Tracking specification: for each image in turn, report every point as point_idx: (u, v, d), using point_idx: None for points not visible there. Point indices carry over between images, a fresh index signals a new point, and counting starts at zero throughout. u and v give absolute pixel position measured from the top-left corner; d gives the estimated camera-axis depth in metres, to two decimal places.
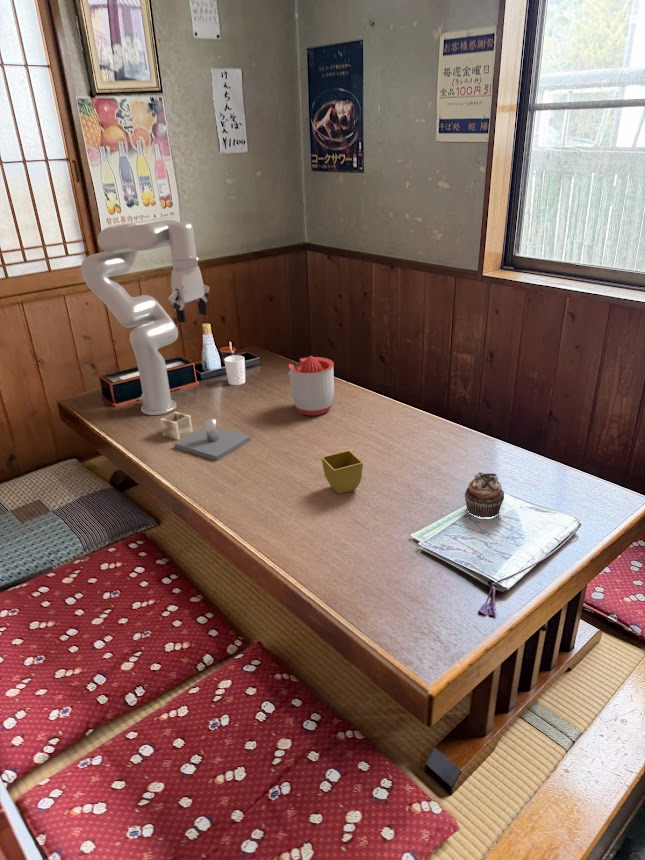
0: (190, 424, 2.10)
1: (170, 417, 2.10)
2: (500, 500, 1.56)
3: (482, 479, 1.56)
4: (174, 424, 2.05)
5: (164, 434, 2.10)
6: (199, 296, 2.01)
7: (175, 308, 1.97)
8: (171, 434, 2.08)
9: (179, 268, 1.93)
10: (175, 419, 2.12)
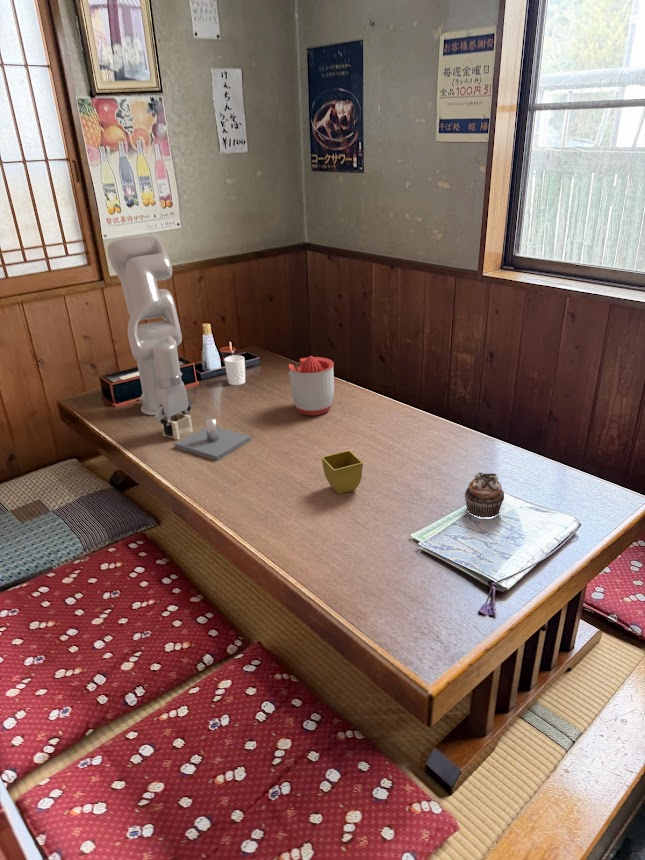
0: (189, 424, 2.10)
1: None
2: (500, 500, 1.56)
3: (482, 479, 1.56)
4: (174, 424, 2.05)
5: (164, 434, 2.10)
6: (183, 409, 2.08)
7: (162, 423, 2.05)
8: None
9: (163, 386, 2.00)
10: (175, 419, 2.12)
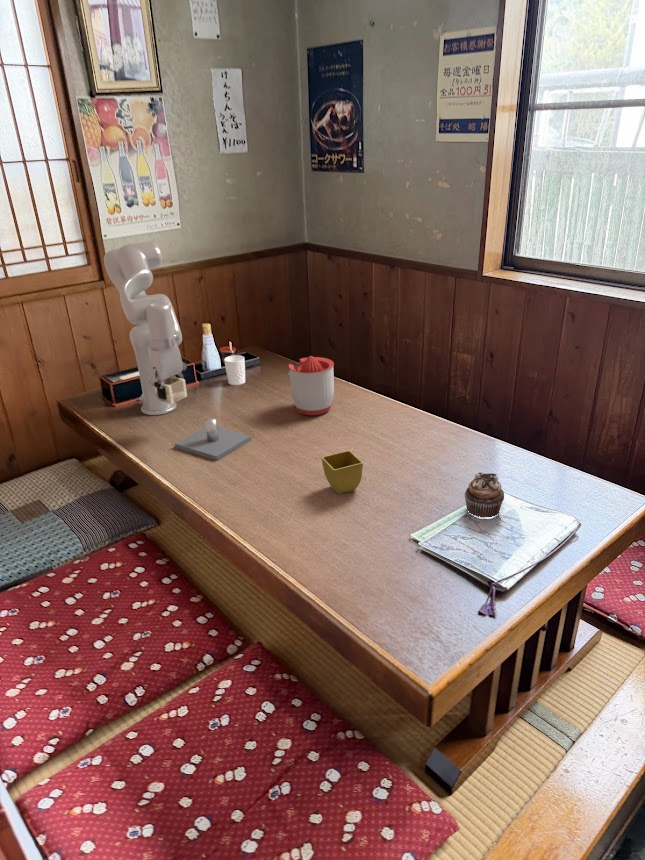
0: (184, 388, 2.05)
1: None
2: (500, 500, 1.56)
3: (482, 479, 1.56)
4: (168, 387, 2.00)
5: (157, 398, 2.05)
6: (177, 372, 2.03)
7: (156, 386, 2.00)
8: None
9: (157, 348, 1.95)
10: (169, 383, 2.08)
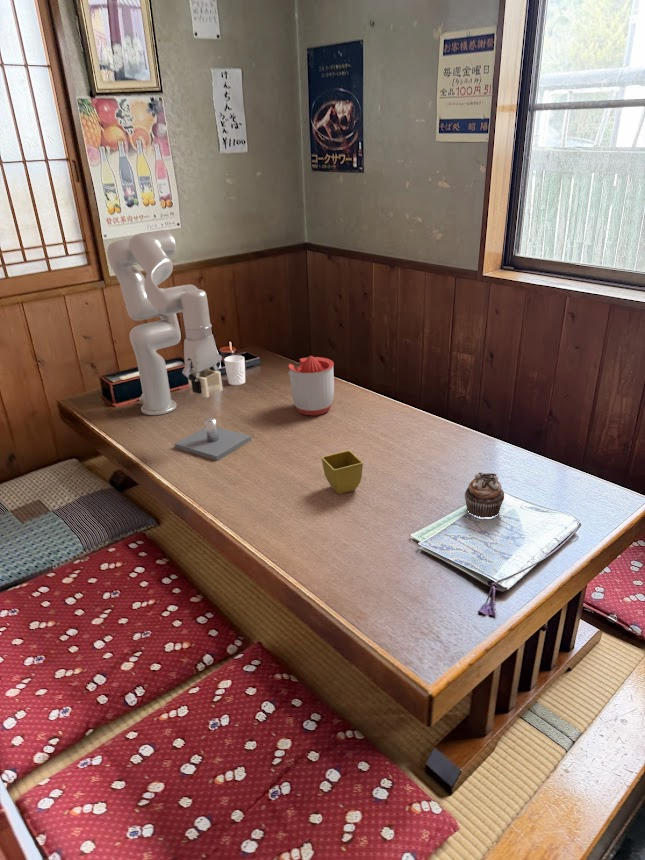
0: (219, 381, 1.94)
1: None
2: (500, 500, 1.56)
3: (482, 479, 1.56)
4: (203, 380, 1.89)
5: (192, 392, 1.94)
6: (212, 364, 1.92)
7: (190, 379, 1.89)
8: None
9: (192, 338, 1.84)
10: (203, 376, 1.96)
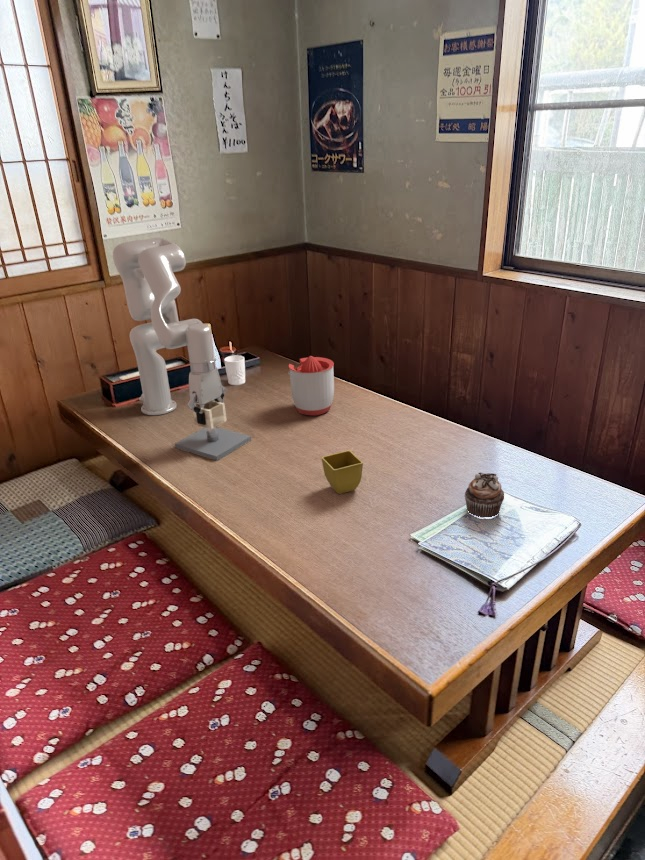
0: (223, 412, 1.98)
1: None
2: (500, 500, 1.56)
3: (482, 479, 1.56)
4: (208, 412, 1.93)
5: (196, 423, 1.98)
6: (217, 396, 1.97)
7: (195, 411, 1.93)
8: None
9: (197, 371, 1.89)
10: (207, 407, 2.01)
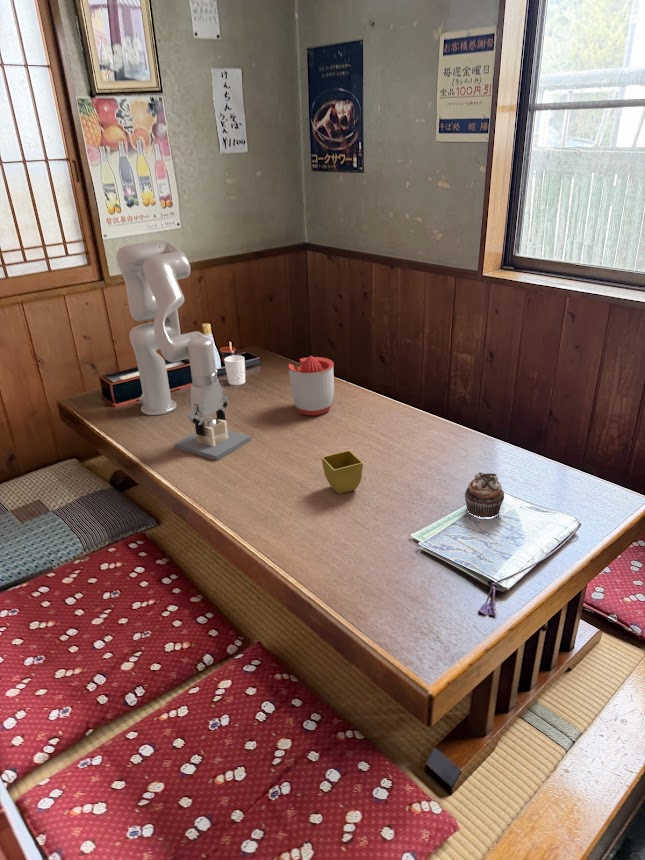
0: (225, 430, 2.01)
1: None
2: (500, 500, 1.56)
3: (482, 479, 1.56)
4: (210, 430, 1.96)
5: (198, 440, 2.01)
6: (218, 408, 1.98)
7: (194, 423, 1.94)
8: (206, 440, 1.99)
9: (199, 384, 1.91)
10: None
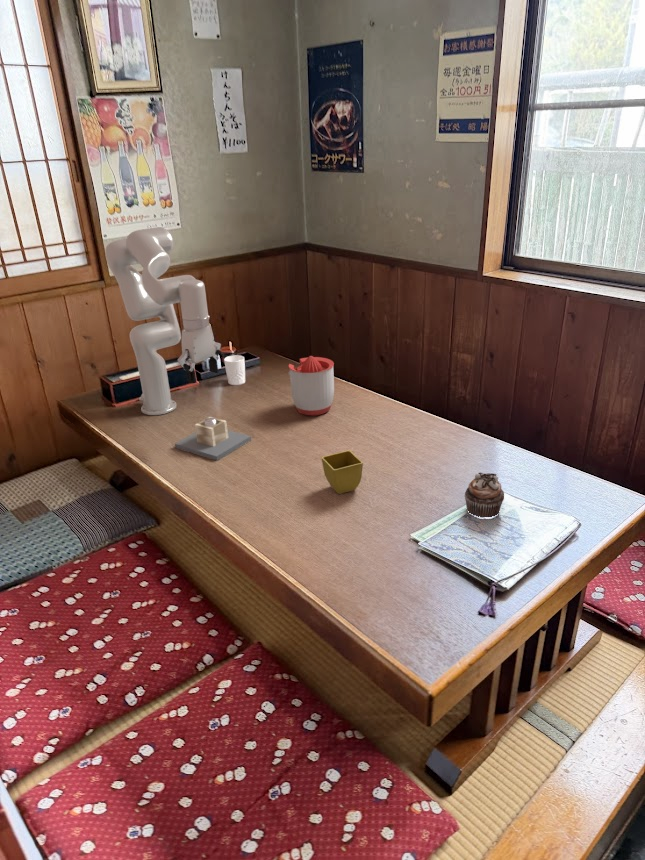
0: (225, 430, 2.01)
1: None
2: (500, 500, 1.56)
3: (482, 479, 1.56)
4: (210, 430, 1.96)
5: (198, 440, 2.01)
6: (210, 355, 1.92)
7: (185, 369, 1.88)
8: (206, 440, 1.99)
9: (190, 328, 1.84)
10: None
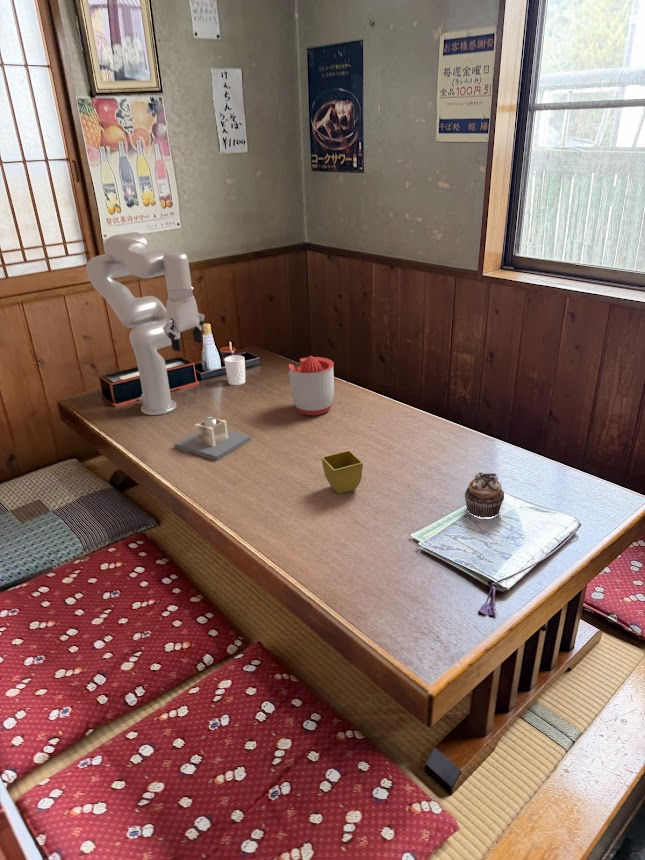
0: (225, 430, 2.01)
1: None
2: (500, 500, 1.56)
3: (482, 479, 1.56)
4: (210, 430, 1.96)
5: (198, 440, 2.01)
6: (194, 325, 2.02)
7: (170, 337, 1.97)
8: (206, 440, 1.99)
9: (174, 298, 1.94)
10: None
